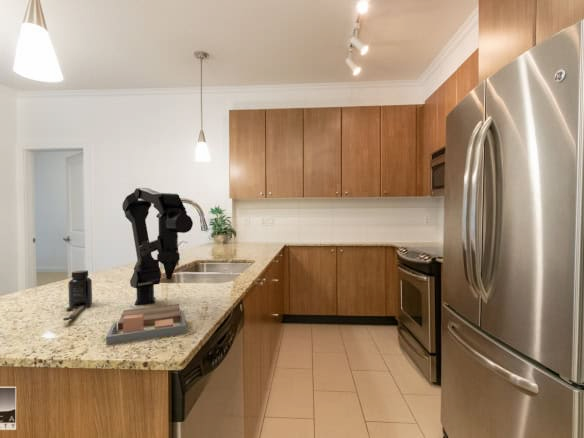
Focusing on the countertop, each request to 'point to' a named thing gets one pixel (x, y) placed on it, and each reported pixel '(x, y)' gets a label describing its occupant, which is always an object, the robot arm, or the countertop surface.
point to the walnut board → (153, 314)
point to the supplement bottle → (80, 289)
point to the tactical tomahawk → (76, 311)
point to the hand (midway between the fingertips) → (168, 279)
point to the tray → (144, 333)
